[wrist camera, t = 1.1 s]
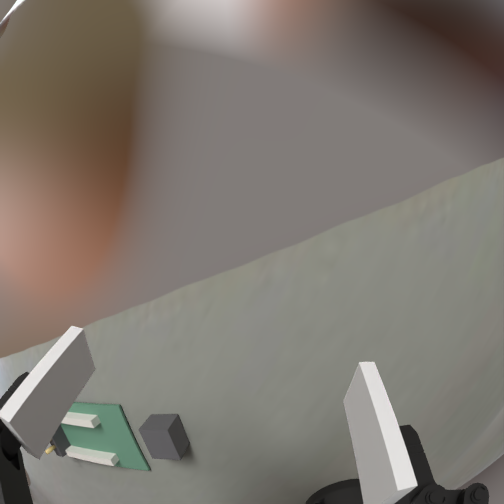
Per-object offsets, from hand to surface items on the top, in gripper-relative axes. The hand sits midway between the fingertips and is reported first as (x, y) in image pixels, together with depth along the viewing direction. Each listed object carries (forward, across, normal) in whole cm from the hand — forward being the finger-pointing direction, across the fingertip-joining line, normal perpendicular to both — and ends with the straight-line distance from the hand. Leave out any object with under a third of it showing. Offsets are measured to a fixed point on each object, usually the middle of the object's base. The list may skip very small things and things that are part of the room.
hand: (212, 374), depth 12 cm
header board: (+14, +27, +40) cm, 51 cm away
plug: (+16, +10, +32) cm, 37 cm away
